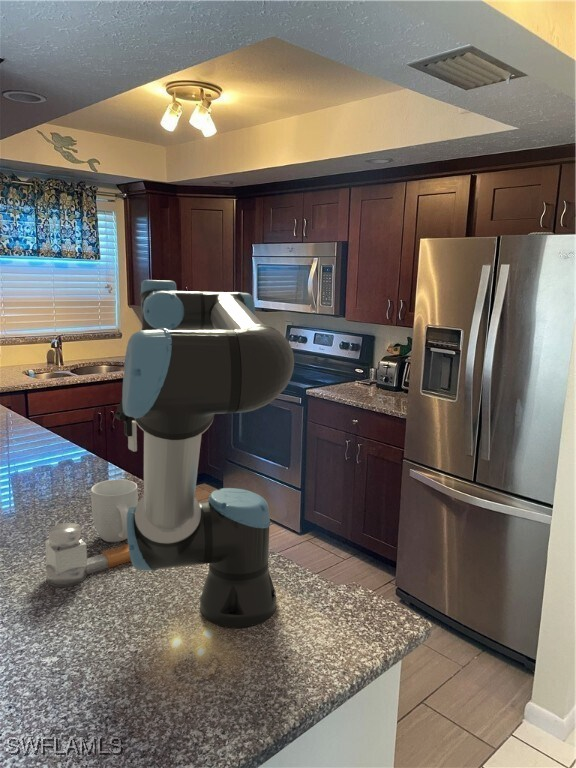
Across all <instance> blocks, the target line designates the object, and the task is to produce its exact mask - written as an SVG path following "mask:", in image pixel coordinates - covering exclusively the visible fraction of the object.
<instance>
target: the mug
mask: <svg viewBox="0 0 576 768" xmlns="http://www.w3.org/2000/svg"><path fill="white" fill-rule="evenodd" d="M138 494H139V493H138V484H137V483H136V482H134V481H132V480H128V479H120V478H119V479H108V480H104V481H100V482H98V483H95V484H94V485H93V486H92V487H91V488H90V499H91V500H90V502H91V504H90V505H91V513H92V514H91V515H92V520H93V524H94V527H95V530H96V532H97V534H98V536H99V537H100V538H101V539H102V540H103V541H104V542H107V543H119V542H122V541H125V540H128V539H127V512H128V510H129V509H130V508H131V507H135V506H137V504H138V503H139V495H138Z"/></svg>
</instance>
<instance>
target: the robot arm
mask: <svg viewBox="0 0 576 768" xmlns="http://www.w3.org/2000/svg"><path fill="white" fill-rule="evenodd" d="M140 288H141V289H140V294H139V295H140V306H141V307H140V312H141V313H140V315H141V330H137V331H136V332H134V333H132V334H131V336H130V337H129V339H128V342H127V346H126V350H125V355H124V363H123V377H122V391H121V392H122V394H121V395H122V397H121V399H120V402H119V405H118V408H117V409H116V412H115V414H114V418H116V419H117V420H119V421H121V422H122V421H123V434H124V436H126V437H127V442H128V443H127V447H128V450H130V451H131V452H137V451H138V441H137V439H138V438H137V437H138V433H137V431H138V428H137V426H138V427H139V429H140V430H142V431H143V496H142V497H141V498H140V499H139V500H138V504H137V506H135V507H131V508H130V509H129V510H128V512H127V539H126V540H127V544H128V545H129V554H130V558H131V561H130V562H131V565H132V567H133V568H134V569H136V570H138V571H152V572H153V571H154V572H155V571H158V570H164V569H172V568H181V567H189V566H190V567H191V566H199V565H207V564H208V572H207V576H206V578H205V582H204V584H203V588H202V591H201V592H200V596H199V610H200V613H201V615H202V616H203V617H204V618H205V619H206V620H207V621H209V622H210V623H213V624H215V625H217V626H220V627H224V628H225V627H226V628H233V629H234V628H236V629H237V628H238V629H239V628H240V629H241V628H248V627H252V626H257V625H259V624H262V623H264V622H265V621H267V620H268V619H269V618H271V617H272V616H273V614H274V613H275V612H276V609H277V592H276V589H275V586H274V583H273V580H272V577H271V574H270V570H269V558H270V557H269V553H270V551H269V550H270V549H269V548H270V547H269V546H270V526H271V520H270V506H269V504H268V502H267V500H266V499H265V498H264V497H263V496H262V495H260V494H258V493H256V492H253V491H250V490H247V489H243V488H236V487H235V488H233V487H223V488H219V489H215V490H213V491H212V492H211V493H210V494H209V496H208V498H207V499H208V500H203V501H201V500H200V501H199V500H198V499H197V498H196V488H197V480H198V479H197V478H198V468H199V461H200V454H201V453H200V449H201V443H202V434H204V433H205V432H206V431H208V429H209V428H210V426H211V425H212V423H213V421H214V417H215V415H216V414H217V415H219V414H222V415H223V414H239V413H247V412H248V413H249V412H252V411H256V410H258V409H261V408H262V407H265V406H267V405H268V404H269V403H271V402H272V401H275V399H276V398H278V397H279V396H280V394H281V393H282V392H284V390H285V389H286V388H287V386H288V384H289V382H290V381H291V378H292V377H293V376H292V375H293V373H294V368H295V367H294V366H295V358H294V357H295V356H294V351H293V348H292V346H291V344H290V342H289V341H288V339H287V338H286V337H285V335H283V334H282V333H281V332H280V331H279V330H278V329H276V328H275V327H273V326H270V325H267V324H264V323H263V322H262V321H261V320H259V318H258V317H257V316H256V307H255V306H256V304H255V301H254V297H253V296H252V294H250V293H248V292H239V291H232V292H231V291H227V292H226V291H225V292H224V291H193V290H192V291H191V290H190V291H188V290H187V291H186V290H177V289H178V288H177V283H176V282H175V281H174V280H164V279H163V280H160V279H159V280H157V279H144V280H142V281H141V284H140Z"/></svg>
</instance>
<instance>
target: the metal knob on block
mask: <svg viewBox="0 0 576 768" xmlns="http://www.w3.org/2000/svg"><path fill="white" fill-rule="evenodd" d="M82 535H83V534H82V526H81V525H80V524H79V523H75V522H66V523H65V522H63V523H60V524H56V525H53V526H52V527H51V528H49V530H48V539H47V540H45V541H44V544H45V545H44V546H45V560H46V561H45V562H46V565H47V564H48V565H49V567H50V568H51V569H52V570H53V572H54V573H55V574H56V575H59V574H62V573H65V572H68V571H72V570H75V569H78V568H82V567H85V566H87V558H88V557H87V556H88V555H87V553H88V551H87V543H86V542H85V541H84V540H83V539H82V538H83V537H82Z"/></svg>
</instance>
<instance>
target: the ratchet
mask: <svg viewBox="0 0 576 768" xmlns="http://www.w3.org/2000/svg"><path fill="white" fill-rule="evenodd" d="M129 561H130V562H131V558H130V554H129V545H128V543H127V544H123V545H120V546H116V547H113V548H110V549H107V550H104V551H102V553H100V554H98V555H94V556H91V557H87V566H85V567H82V568H78V569H75V570H72V571H68V572H65V573H62V574H59V575H56V574H55V573H54V572H53V570H52V569H51V568H50V567H49V565H48V564H47V563H46V567H45V569H46V582H47V584H48V585H49V586H51V587H55V588H68V587H73V586H77V585H78V584H80V583H83V581H84V580H86V578H87V576H88V575H90V574H93V573H96V572H100V571H102V570H105V569H112V568H114V567H117V566H120V565H119V564H121V565H123V563H124V564H127V563H129ZM126 562H127V563H126ZM116 565H117V566H116Z"/></svg>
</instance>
